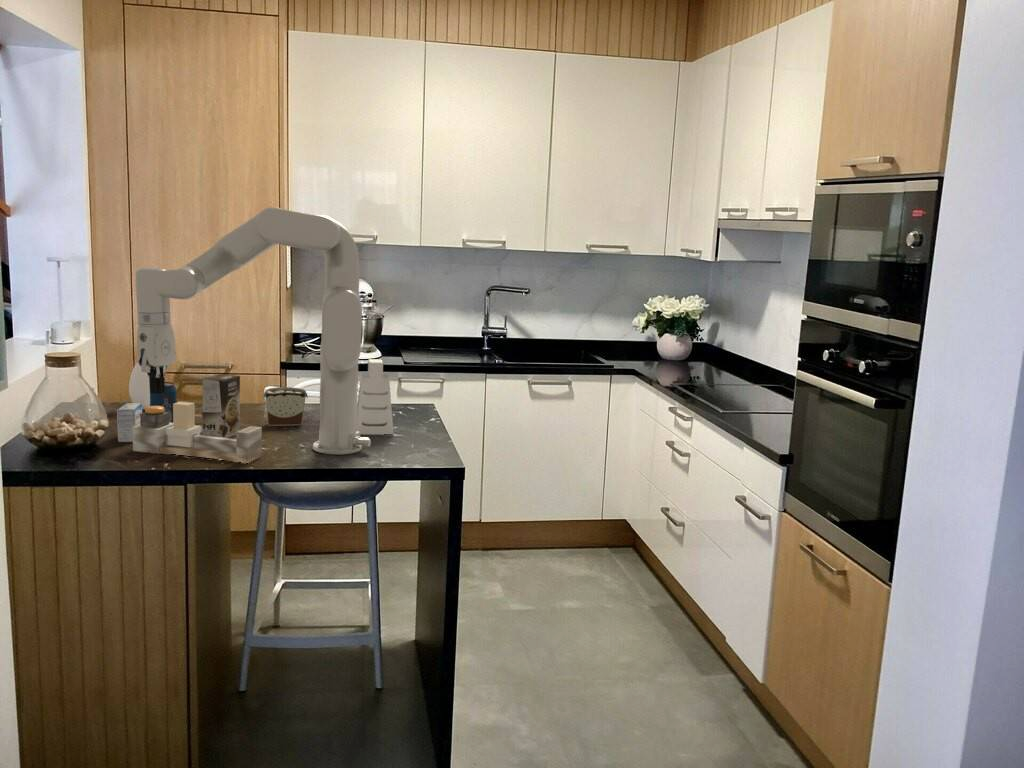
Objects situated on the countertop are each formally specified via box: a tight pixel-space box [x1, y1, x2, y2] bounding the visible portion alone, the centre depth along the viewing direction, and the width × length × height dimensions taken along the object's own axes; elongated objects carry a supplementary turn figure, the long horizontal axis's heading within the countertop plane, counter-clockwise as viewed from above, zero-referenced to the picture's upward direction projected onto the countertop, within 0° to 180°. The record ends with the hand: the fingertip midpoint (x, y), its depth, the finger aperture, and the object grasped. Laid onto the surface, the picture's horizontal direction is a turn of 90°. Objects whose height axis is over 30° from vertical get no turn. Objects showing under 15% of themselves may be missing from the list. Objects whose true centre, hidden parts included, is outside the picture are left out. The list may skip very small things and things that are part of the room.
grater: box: [356, 358, 394, 435], centre depth 259 cm, size 10×10×20 cm
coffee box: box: [201, 373, 241, 439], centre depth 242 cm, size 9×6×16 cm
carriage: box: [166, 401, 202, 447], centre depth 225 cm, size 6×6×10 cm
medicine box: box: [116, 402, 143, 443], centre depth 235 cm, size 8×4×9 cm, turn 9°
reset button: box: [144, 406, 164, 415], centre depth 227 cm, size 4×4×4 cm
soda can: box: [150, 381, 178, 423], centre depth 249 cm, size 7×7×12 cm
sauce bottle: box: [128, 361, 150, 409], centre depth 267 cm, size 8×8×18 cm
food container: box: [262, 386, 309, 427], centre depth 262 cm, size 12×6×10 cm, turn 108°
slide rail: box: [132, 411, 263, 464], centre depth 225 cm, size 30×8×9 cm, turn 78°
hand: (157, 392), depth 226 cm, fingers closed
